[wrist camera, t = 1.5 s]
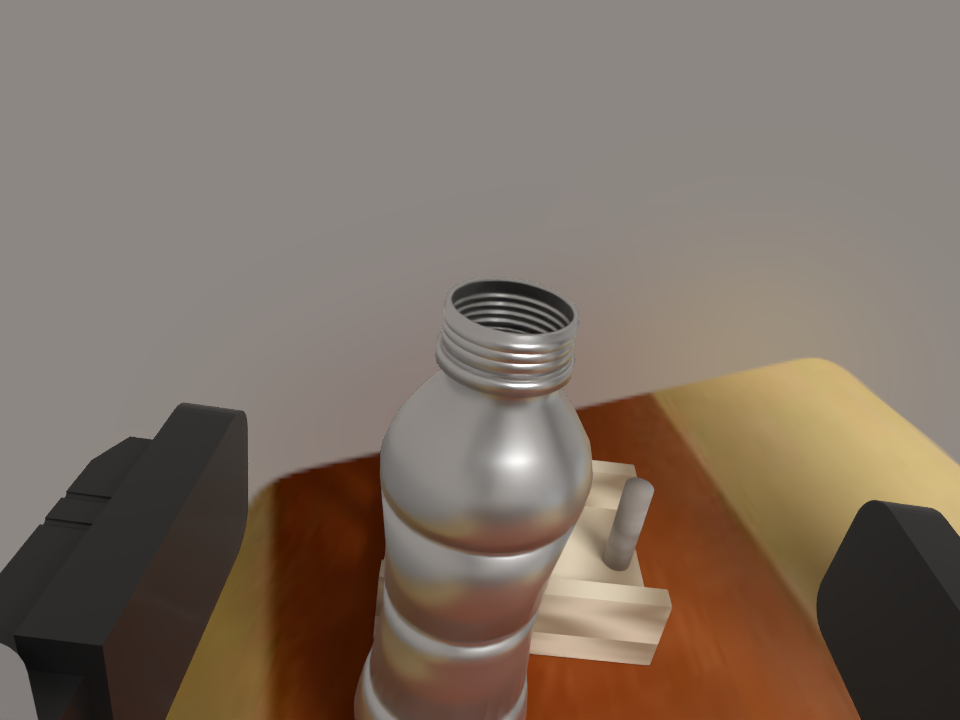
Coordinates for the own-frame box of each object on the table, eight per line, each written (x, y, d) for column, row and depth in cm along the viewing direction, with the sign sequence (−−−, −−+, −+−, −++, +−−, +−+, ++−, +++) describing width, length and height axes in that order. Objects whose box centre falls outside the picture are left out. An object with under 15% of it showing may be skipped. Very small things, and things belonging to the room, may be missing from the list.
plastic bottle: (341, 686, 32) (369, 254, 22) (491, 662, 34) (581, 257, 24) (362, 844, 26) (412, 372, 16) (538, 805, 29) (679, 364, 18)
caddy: (617, 518, 43) (645, 428, 40) (649, 665, 35) (687, 566, 31) (396, 493, 43) (406, 400, 39) (373, 638, 34) (382, 534, 31)
